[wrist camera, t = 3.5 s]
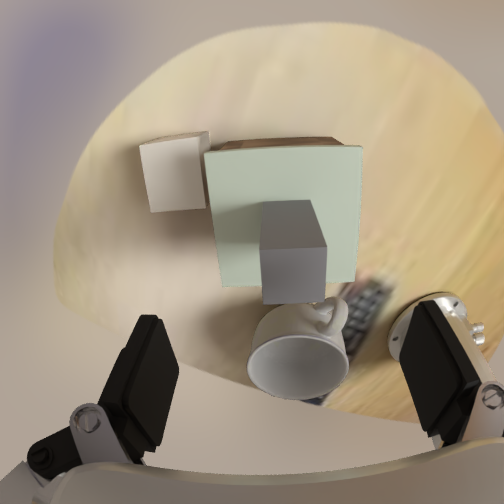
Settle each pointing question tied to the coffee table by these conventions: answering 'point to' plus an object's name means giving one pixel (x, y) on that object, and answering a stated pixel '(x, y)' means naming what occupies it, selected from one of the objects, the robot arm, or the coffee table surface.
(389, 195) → the coffee table surface
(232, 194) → the lid
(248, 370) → the teacup
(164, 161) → the matte white cube
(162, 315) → the coffee table surface
